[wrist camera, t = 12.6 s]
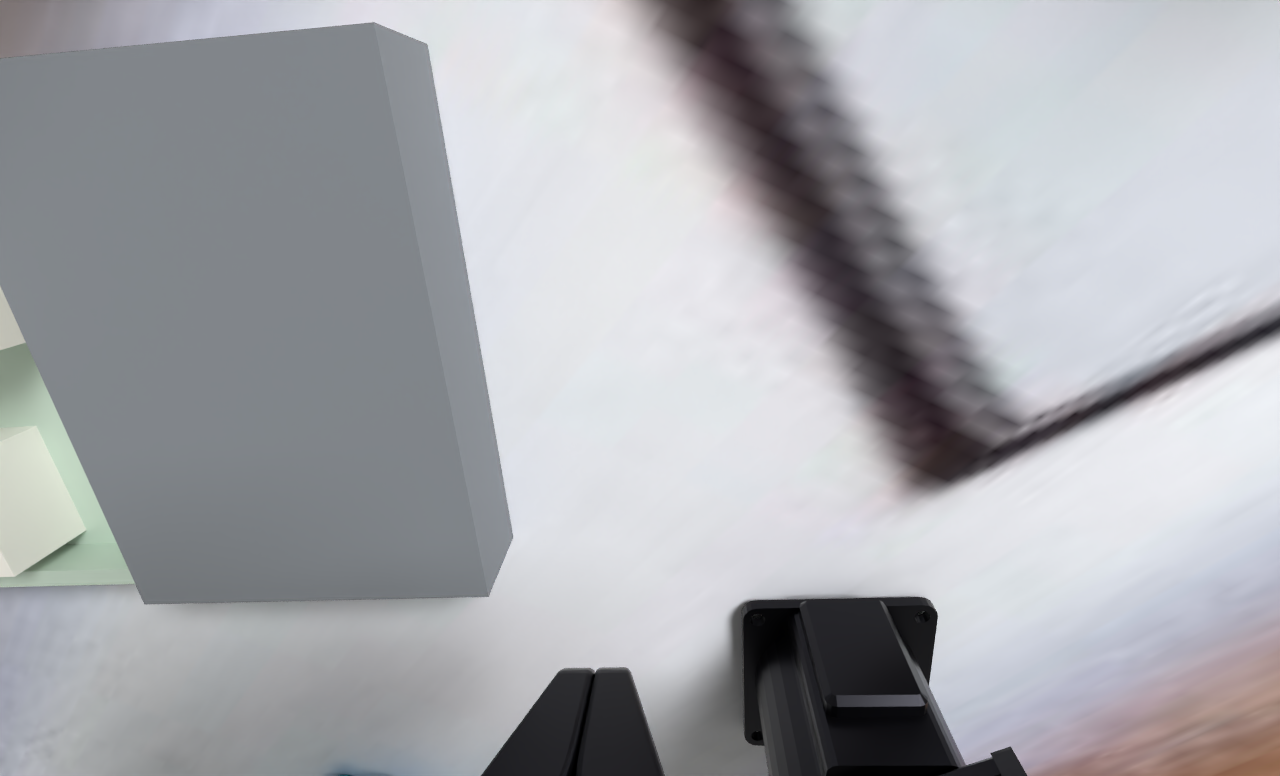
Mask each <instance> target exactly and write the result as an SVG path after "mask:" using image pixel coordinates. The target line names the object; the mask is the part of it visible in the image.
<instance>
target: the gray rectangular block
mask: <svg viewBox="0 0 1280 776" xmlns="http://www.w3.org/2000/svg"><path fill="white" fill-rule="evenodd" d="M0 287H1V289H2V291H3V293H4V295H5V298H6V300H7V302H8V304H9V306H10V309H11V311H12V313H13V315H14V317H15V320H16V322H17V324H18V326H19V329H20V331H21V333H22V335H23V337H24V340H25V342H26V344H27V346H28V348H29V351H30V353H31V355H32V357H33V359H34V362H35V364H36V366H37V368H38V370H39V373H40V375H41V377H42V379H43V381H44V384H45V386H46V388H47V390H48V392H49V395H50V397H51V399H52V401H53V404H54V406H55V408H56V410H57V412H58V415H59V417H60V419H61V421H62V423H63V426H64V428H65V430H66V432H67V434H68V437H69V439H70V441H71V443H72V445H73V448H74V450H75V452H76V454H77V456H78V459H79V461H80V463H81V465H82V467H83V470H84V472H85V474H86V476H87V479H88V481H89V483H90V485H91V487H92V490H93V492H94V494H95V496H96V498H97V501H98V503H99V505H100V507H101V509H102V512H103V514H104V516H105V518H106V520H107V523H108V525H109V527H110V529H111V531H112V534H113V536H114V538H115V540H116V542H117V545H118V547H119V549H120V551H121V554H122V556H123V558H124V560H125V562H126V565H127V567H128V569H129V571H130V573H131V576H132V578H133V580H134V582H135V584H136V587H137V589H138V591H139V593H140V595H141V598H142V600H143V602H144V604H180V603H225V602H271V601H316V600H362V599H407V598H453V597H489V594H490V592H491V589H492V587H493V585H494V582H495V580H496V577H497V575H498V573H499V570H500V568H501V565H502V563H503V560H504V558H505V556H506V553H507V551H508V548H509V546H510V544H511V541H512V539H513V534H512V528H511V523H510V517H509V511H508V505H507V500H506V494H505V488H504V482H503V477H502V471H501V465H500V459H499V454H498V448H497V442H496V436H495V431H494V425H493V419H492V413H491V408H490V402H489V396H488V390H487V385H486V379H485V373H484V367H483V362H482V356H481V350H480V344H479V339H478V333H477V327H476V321H475V316H474V310H473V304H472V299H471V293H470V287H469V281H468V276H467V270H466V264H465V258H464V253H463V247H462V241H461V235H460V230H459V224H458V218H457V212H456V207H455V201H454V195H453V189H452V184H451V178H450V172H449V166H448V161H447V155H446V149H445V143H444V138H443V132H442V126H441V120H440V115H439V109H438V103H437V97H436V92H435V86H434V80H433V74H432V69H431V63H430V57H429V51H428V46H427V44H426V43H423V42H421V41H418V40H416V39H413V38H411V37H408V36H406V35H403V34H401V33H399V32H396V31H394V30H391V29H389V28H386V27H384V26H381V25H379V24H376V23H363V24H353V25H343V26H332V27H322V28H311V29H301V30H290V31H280V32H269V33H259V34H249V35H238V36H228V37H217V38H207V39H196V40H186V41H176V42H165V43H155V44H144V45H134V46H123V47H113V48H103V49H92V50H82V51H71V52H61V53H50V54H40V55H30V56H19V57H9V58H0Z"/></svg>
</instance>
